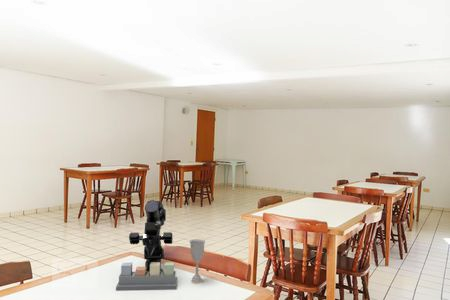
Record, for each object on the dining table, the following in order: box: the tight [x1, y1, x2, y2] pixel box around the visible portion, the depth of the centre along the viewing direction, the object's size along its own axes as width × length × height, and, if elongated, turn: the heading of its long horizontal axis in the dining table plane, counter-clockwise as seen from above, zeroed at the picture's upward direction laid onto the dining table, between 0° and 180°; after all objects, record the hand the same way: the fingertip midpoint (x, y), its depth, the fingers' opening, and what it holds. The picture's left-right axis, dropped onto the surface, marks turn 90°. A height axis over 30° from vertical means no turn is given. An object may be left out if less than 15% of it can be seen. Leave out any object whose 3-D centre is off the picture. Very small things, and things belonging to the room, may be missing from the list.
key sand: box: [150, 262, 160, 276], centre depth 160 cm, size 4×4×6 cm
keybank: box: [115, 270, 178, 291], centre depth 160 cm, size 25×10×5 cm, turn 95°
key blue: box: [120, 262, 133, 276], centre depth 159 cm, size 4×4×6 cm
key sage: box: [163, 261, 175, 276], centre depth 160 cm, size 4×4×6 cm
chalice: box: [188, 238, 206, 284], centre depth 165 cm, size 7×7×18 cm
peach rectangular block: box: [135, 266, 147, 276], centre depth 159 cm, size 4×4×6 cm
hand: (149, 255), depth 158 cm, fingers closed
